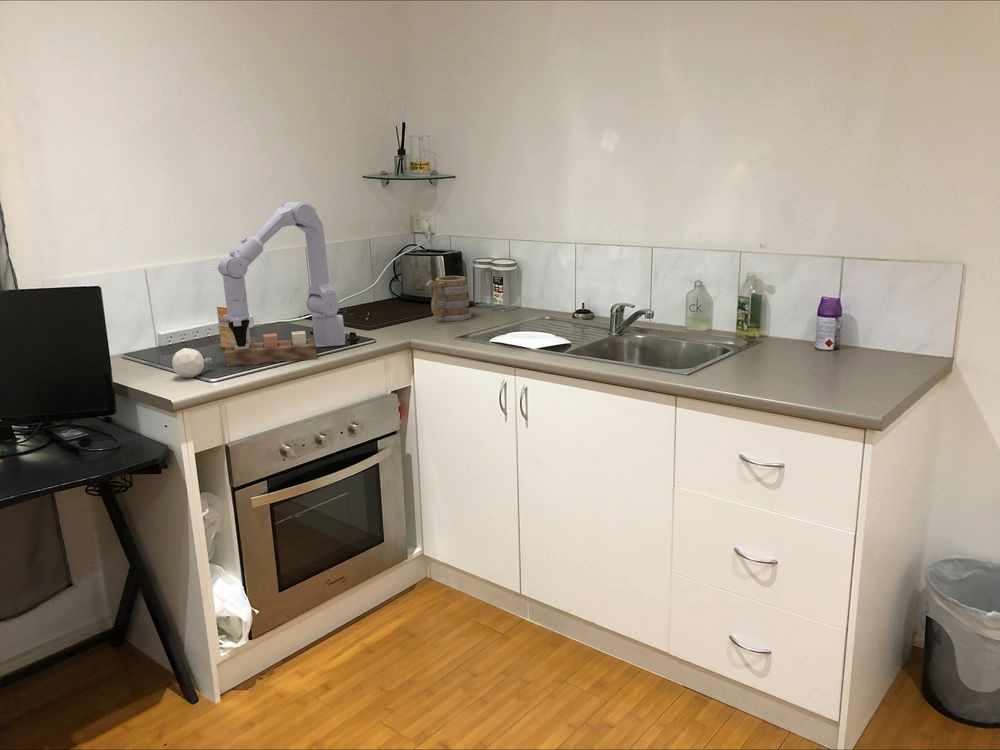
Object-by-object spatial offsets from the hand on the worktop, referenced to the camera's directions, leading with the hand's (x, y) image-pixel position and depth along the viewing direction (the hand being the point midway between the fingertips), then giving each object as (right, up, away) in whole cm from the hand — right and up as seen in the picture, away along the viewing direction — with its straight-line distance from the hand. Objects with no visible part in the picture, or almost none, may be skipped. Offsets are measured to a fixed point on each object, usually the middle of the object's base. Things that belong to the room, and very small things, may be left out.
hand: (241, 346), depth 231 cm
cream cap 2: (+16, 0, +4) cm, 16 cm away
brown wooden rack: (+8, -3, +3) cm, 9 cm away
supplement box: (-8, 0, +18) cm, 20 cm away
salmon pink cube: (+8, 0, +2) cm, 8 cm away
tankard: (+55, +11, +50) cm, 75 cm away
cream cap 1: (0, -3, +1) cm, 4 cm away
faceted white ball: (-9, -8, -12) cm, 17 cm away
